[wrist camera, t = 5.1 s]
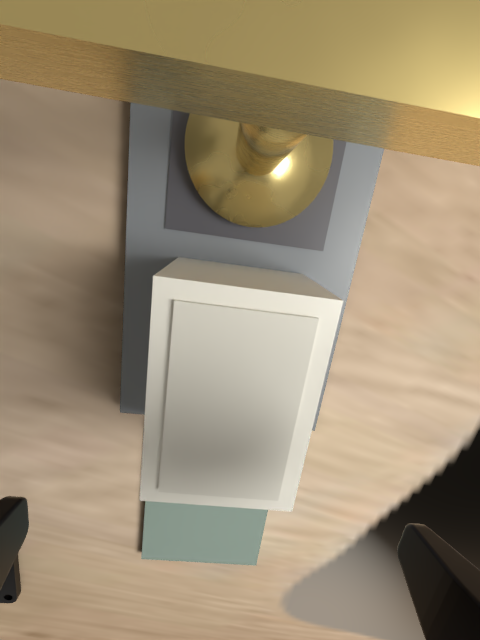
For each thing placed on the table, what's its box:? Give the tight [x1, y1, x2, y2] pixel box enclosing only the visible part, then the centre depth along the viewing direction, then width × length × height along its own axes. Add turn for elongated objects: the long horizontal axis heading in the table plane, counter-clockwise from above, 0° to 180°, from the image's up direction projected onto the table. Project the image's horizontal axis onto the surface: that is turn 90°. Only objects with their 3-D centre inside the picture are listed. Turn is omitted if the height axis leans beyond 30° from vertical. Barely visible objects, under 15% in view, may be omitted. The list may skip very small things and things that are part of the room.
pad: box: [141, 501, 268, 565], centre depth 18 cm, size 10×7×1 cm
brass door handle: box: [0, 0, 480, 227], centre depth 8 cm, size 11×6×9 cm, turn 82°
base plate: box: [120, 103, 384, 431], centre depth 14 cm, size 16×10×1 cm, turn 172°
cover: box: [139, 257, 343, 512], centre depth 12 cm, size 8×6×5 cm
